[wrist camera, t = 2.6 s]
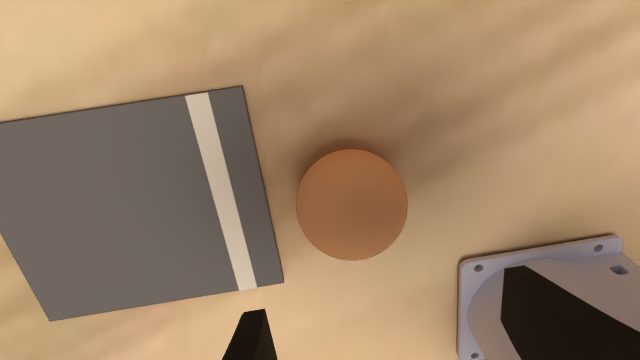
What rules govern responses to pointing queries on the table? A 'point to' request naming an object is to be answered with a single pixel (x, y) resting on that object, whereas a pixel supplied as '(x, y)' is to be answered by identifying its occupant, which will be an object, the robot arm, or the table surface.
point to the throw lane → (137, 203)
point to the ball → (351, 204)
